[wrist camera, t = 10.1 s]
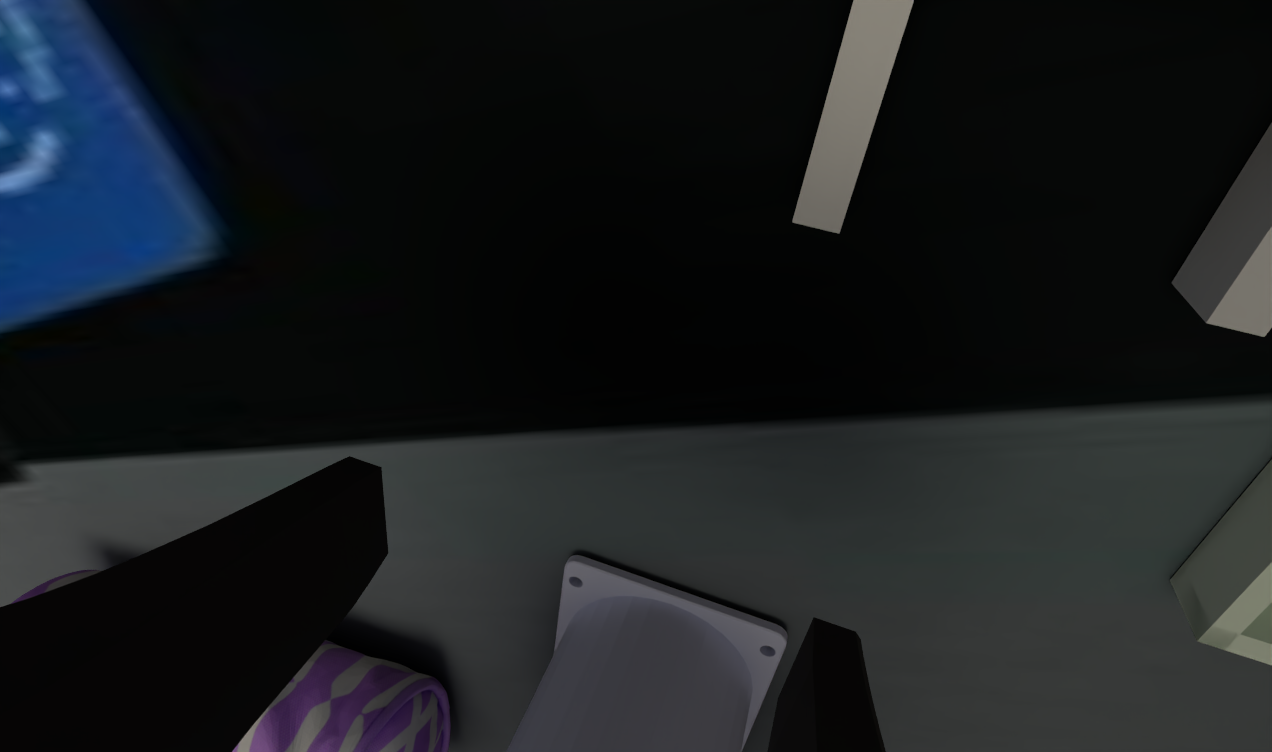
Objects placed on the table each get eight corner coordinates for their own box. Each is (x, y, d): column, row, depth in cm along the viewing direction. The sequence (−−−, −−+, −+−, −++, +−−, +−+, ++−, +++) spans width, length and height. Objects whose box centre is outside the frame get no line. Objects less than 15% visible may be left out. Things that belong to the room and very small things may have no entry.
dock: (1301, 313, 14) (1489, 474, 10) (739, 181, 17) (683, 263, 12) (1742, -266, 9) (2521, -475, 5) (858, -345, 12) (838, -539, 7)
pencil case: (148, 647, 40) (-27, 809, 33) (78, 527, 36) (-147, 683, 28) (485, 749, 34) (366, 978, 26) (452, 619, 30) (296, 852, 22)
